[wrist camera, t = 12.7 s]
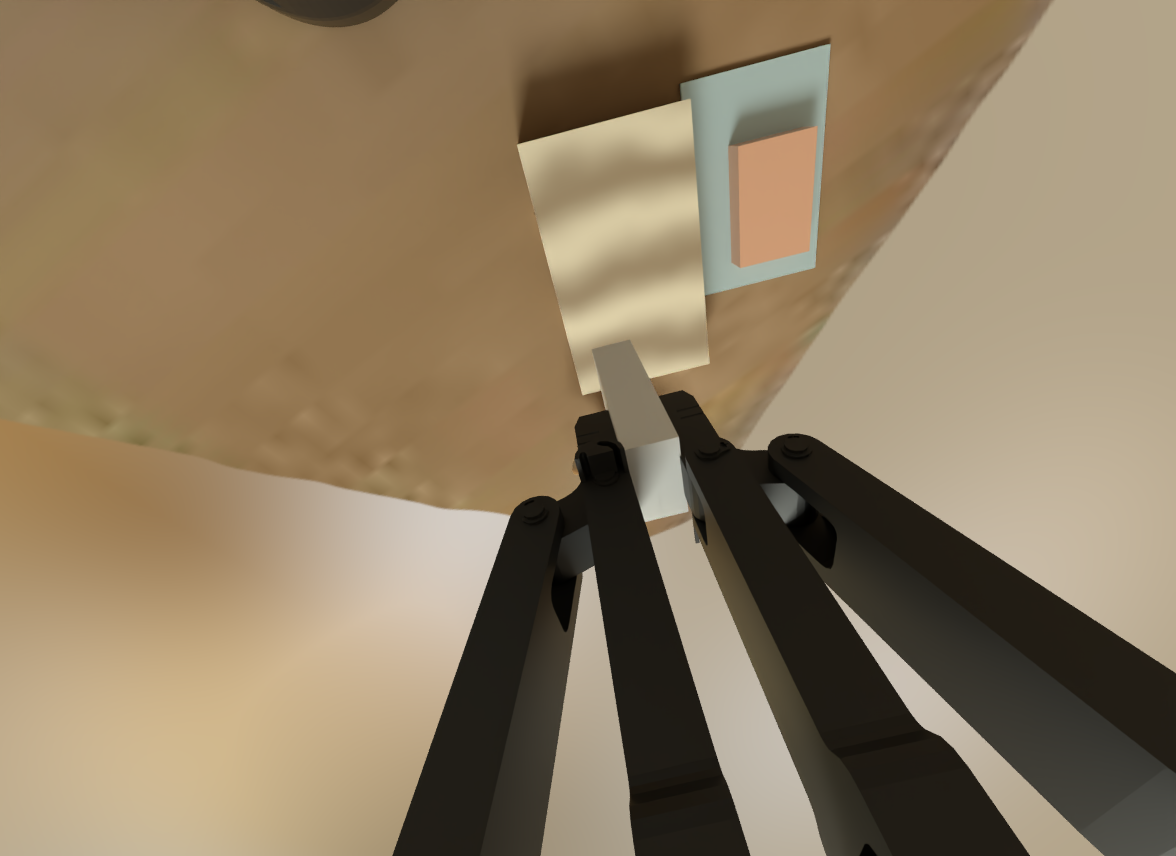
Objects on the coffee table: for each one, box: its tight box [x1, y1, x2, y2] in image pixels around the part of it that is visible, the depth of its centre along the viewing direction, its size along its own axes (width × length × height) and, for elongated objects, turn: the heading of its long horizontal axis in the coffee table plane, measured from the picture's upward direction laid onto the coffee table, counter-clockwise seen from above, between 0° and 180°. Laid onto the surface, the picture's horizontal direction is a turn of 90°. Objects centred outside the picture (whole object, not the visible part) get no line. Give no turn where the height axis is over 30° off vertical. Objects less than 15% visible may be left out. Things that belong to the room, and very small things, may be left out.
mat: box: [680, 44, 830, 295], centre depth 37 cm, size 16×11×1 cm
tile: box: [728, 126, 818, 268], centre depth 36 cm, size 9×6×2 cm, turn 12°
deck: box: [517, 99, 709, 395], centre depth 37 cm, size 20×12×4 cm, turn 12°
